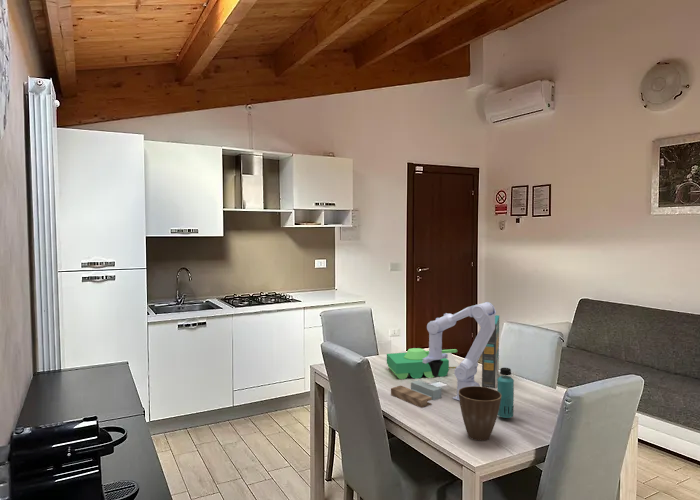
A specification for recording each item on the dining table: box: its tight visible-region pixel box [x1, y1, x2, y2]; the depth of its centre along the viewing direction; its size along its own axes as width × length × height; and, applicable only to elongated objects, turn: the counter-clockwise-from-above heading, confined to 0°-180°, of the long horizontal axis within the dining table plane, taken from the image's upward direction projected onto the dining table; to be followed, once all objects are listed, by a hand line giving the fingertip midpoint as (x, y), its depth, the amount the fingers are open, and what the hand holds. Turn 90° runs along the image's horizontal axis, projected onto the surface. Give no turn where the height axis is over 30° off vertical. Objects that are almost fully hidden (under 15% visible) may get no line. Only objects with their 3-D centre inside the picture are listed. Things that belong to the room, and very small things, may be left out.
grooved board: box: [390, 385, 433, 408], centre depth 215 cm, size 19×6×3 cm, turn 37°
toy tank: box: [386, 347, 458, 380], centre depth 253 cm, size 18×12×35 cm
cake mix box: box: [481, 314, 500, 389], centre depth 239 cm, size 22×6×30 cm, turn 160°
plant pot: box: [458, 386, 501, 442], centre depth 178 cm, size 15×15×16 cm
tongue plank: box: [410, 379, 443, 401], centre depth 221 cm, size 14×6×4 cm, turn 37°
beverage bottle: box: [496, 367, 515, 419], centre depth 194 cm, size 6×7×20 cm
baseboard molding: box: [446, 353, 460, 369], centre depth 275 cm, size 31×3×12 cm
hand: (435, 376), depth 225 cm, fingers closed
